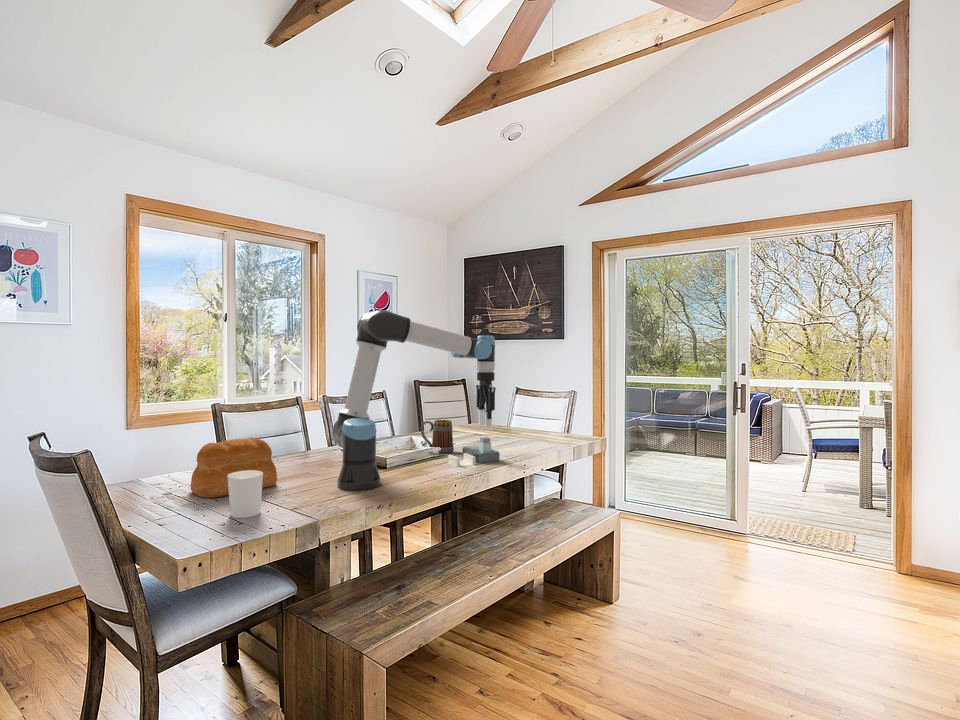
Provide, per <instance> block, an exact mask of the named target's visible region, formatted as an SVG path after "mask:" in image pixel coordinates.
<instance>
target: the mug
mask: <svg viewBox="0 0 960 720" xmlns="http://www.w3.org/2000/svg"><path fill="white" fill-rule="evenodd" d="M426 424H429V426H430V429H429V432H432V439H431V440H432V441H430V440H429V439H428V438H427V436H426V434H425V432H424V427H425V425H426ZM420 432H421V433H420V434H421V437H422V439H423V440H424V441H425V442H426V443H427V445H428V446H429V447H440V448H441V450H440V452H439V456H440V455H452V454H453V453H454V450H455V449H454V440H453V438H454V437H453V424H452V420H449V419H436V420H434V421H431V420H425V421H423V422H422V423H421V425H420ZM429 447H428V448H429Z"/></svg>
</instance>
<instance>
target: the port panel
mask: <svg viewBox="0 0 960 720" xmlns="http://www.w3.org/2000/svg"><path fill="white" fill-rule="evenodd" d="M461 451H462V453H461V456H462V458H464V453H467V454H469V455H472V456H474V457H475V464H478V465H480V464H488V463H489V464H490V463H499V462H500V452H499V450H496V449H495V450H494V449H493V448H491V452H490V453H480V452H479V445H475V446H474V445H472V446H464V447H462V450H461Z"/></svg>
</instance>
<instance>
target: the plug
mask: <svg viewBox="0 0 960 720" xmlns="http://www.w3.org/2000/svg"><path fill="white" fill-rule="evenodd" d="M478 446H479V452H480V453H490V452H491V449H492V442H491V437H488V436H480V437H479V441H478Z"/></svg>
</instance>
